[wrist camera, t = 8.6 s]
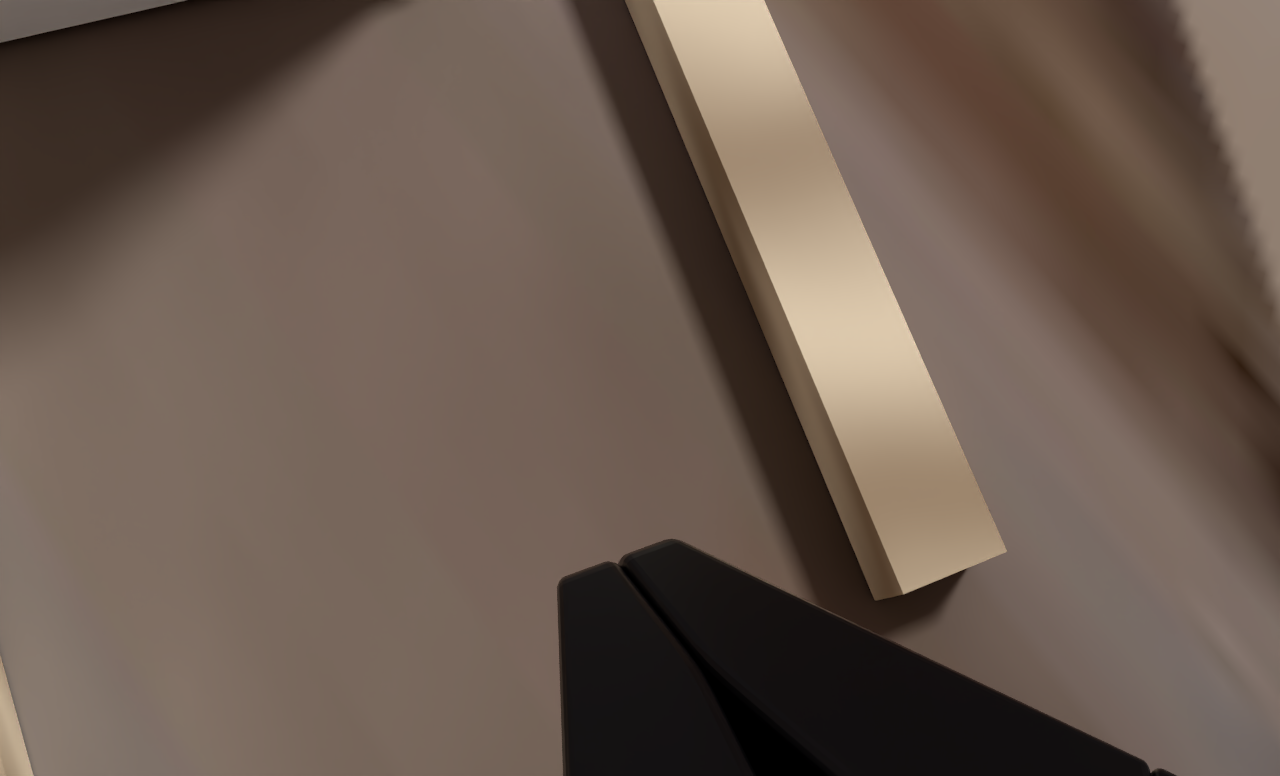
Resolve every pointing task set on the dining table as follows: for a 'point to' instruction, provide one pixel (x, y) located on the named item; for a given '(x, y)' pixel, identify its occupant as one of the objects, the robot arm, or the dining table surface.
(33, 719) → the dining table surface
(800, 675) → the robot arm
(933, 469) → the channel
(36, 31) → the white l-shaped bracket
